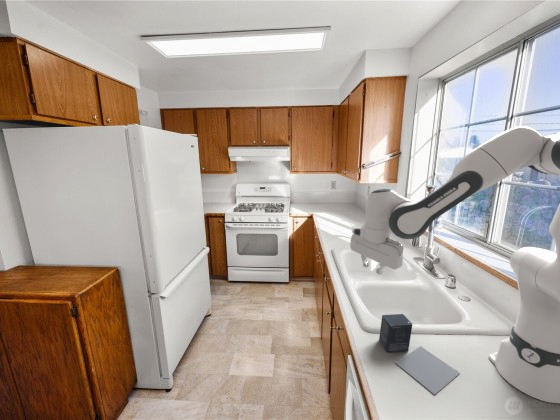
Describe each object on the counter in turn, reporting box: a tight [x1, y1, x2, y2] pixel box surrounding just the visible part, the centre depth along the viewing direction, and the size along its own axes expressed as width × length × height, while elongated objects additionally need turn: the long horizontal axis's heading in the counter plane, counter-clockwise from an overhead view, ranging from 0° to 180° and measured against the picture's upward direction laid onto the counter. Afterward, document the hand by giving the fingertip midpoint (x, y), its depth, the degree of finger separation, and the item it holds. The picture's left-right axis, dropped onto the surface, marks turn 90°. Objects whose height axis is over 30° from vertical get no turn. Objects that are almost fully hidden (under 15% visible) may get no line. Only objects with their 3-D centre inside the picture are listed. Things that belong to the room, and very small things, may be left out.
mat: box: [395, 346, 461, 396], centre depth 75 cm, size 14×12×1 cm
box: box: [378, 313, 413, 353], centre depth 83 cm, size 8×6×11 cm
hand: (372, 270), depth 89 cm, fingers open, 5 cm apart
